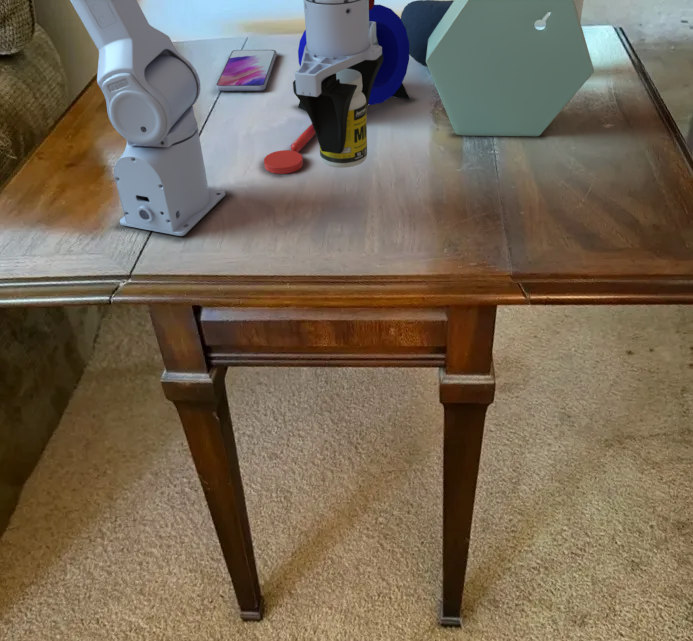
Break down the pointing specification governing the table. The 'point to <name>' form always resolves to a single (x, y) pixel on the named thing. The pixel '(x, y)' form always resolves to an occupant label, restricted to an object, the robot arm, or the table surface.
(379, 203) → the table surface
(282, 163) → the red rod and disc
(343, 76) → the supplement bottle
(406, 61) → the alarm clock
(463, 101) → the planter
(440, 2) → the decorative stone
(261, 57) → the smartphone
